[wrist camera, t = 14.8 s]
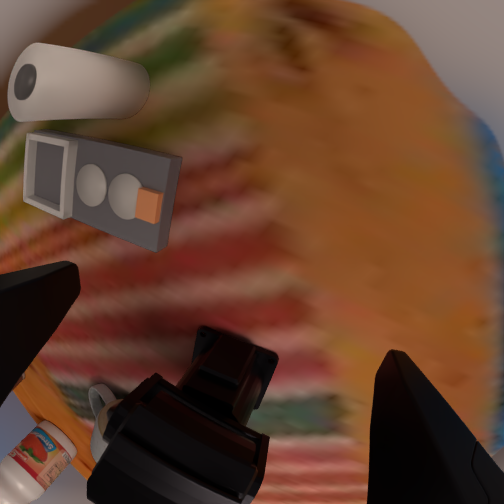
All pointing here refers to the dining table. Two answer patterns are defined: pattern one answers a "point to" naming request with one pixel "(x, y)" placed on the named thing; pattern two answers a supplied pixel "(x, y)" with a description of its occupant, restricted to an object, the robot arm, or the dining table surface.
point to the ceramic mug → (100, 416)
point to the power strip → (102, 185)
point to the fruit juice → (34, 464)
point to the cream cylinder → (74, 85)
